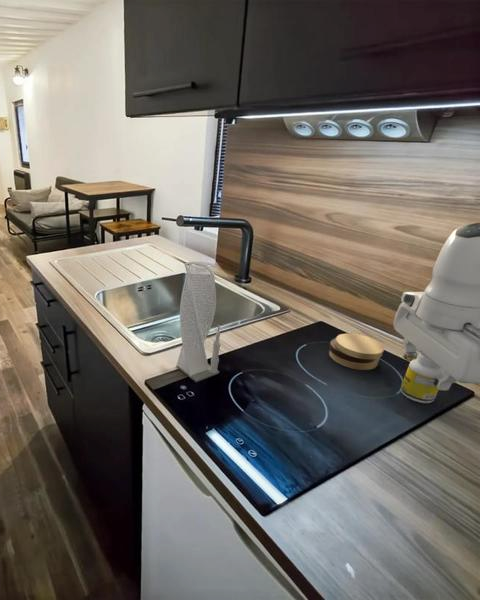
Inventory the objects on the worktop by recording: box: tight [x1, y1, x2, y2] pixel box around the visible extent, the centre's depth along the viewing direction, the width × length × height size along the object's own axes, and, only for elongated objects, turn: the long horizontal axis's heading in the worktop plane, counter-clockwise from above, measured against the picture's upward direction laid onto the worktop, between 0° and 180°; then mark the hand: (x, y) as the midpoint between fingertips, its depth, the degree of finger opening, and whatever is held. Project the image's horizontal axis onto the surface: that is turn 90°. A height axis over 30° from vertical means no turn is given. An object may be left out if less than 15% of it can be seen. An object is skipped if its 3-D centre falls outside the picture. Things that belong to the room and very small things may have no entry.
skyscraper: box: [175, 261, 222, 383], centre depth 82 cm, size 8×8×28 cm
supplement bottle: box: [399, 350, 445, 404], centre depth 73 cm, size 5×5×10 cm
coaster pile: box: [328, 332, 385, 371], centre depth 87 cm, size 10×10×4 cm
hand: (423, 372), depth 73 cm, fingers open, 8 cm apart
